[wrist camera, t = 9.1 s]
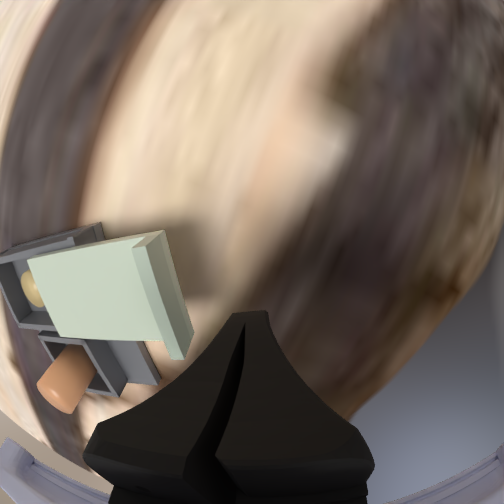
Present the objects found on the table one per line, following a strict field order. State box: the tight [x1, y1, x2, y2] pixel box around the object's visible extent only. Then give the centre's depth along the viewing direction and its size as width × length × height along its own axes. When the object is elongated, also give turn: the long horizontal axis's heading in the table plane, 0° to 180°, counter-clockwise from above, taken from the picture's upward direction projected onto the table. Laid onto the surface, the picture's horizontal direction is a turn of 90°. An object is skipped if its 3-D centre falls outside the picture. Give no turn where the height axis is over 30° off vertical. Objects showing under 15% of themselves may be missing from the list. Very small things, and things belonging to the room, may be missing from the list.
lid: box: [27, 230, 194, 360], centre depth 15 cm, size 7×12×3 cm, turn 99°
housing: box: [0, 222, 161, 397], centre depth 20 cm, size 16×14×4 cm
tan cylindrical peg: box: [37, 344, 98, 414], centre depth 19 cm, size 4×4×7 cm
